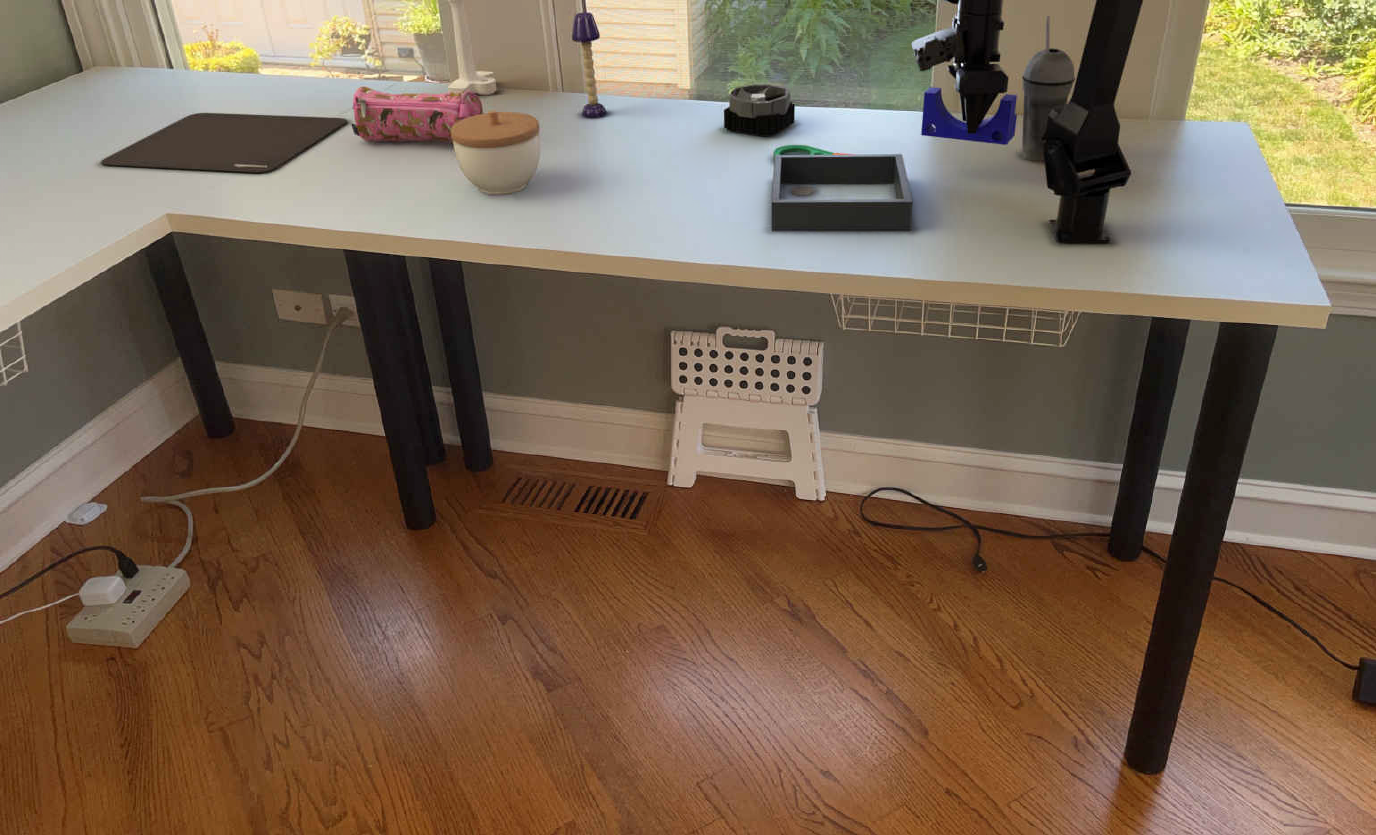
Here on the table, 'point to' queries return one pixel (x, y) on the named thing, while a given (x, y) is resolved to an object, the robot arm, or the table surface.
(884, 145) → the table surface
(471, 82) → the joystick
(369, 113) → the pencil case
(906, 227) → the dark grey square tray
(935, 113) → the blue u-shaped bracket
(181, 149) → the mouse pad
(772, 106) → the cpu cooler
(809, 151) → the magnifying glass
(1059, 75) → the beverage cup
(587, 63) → the toy lamp
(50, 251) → the table surface
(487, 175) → the lidded bowl
